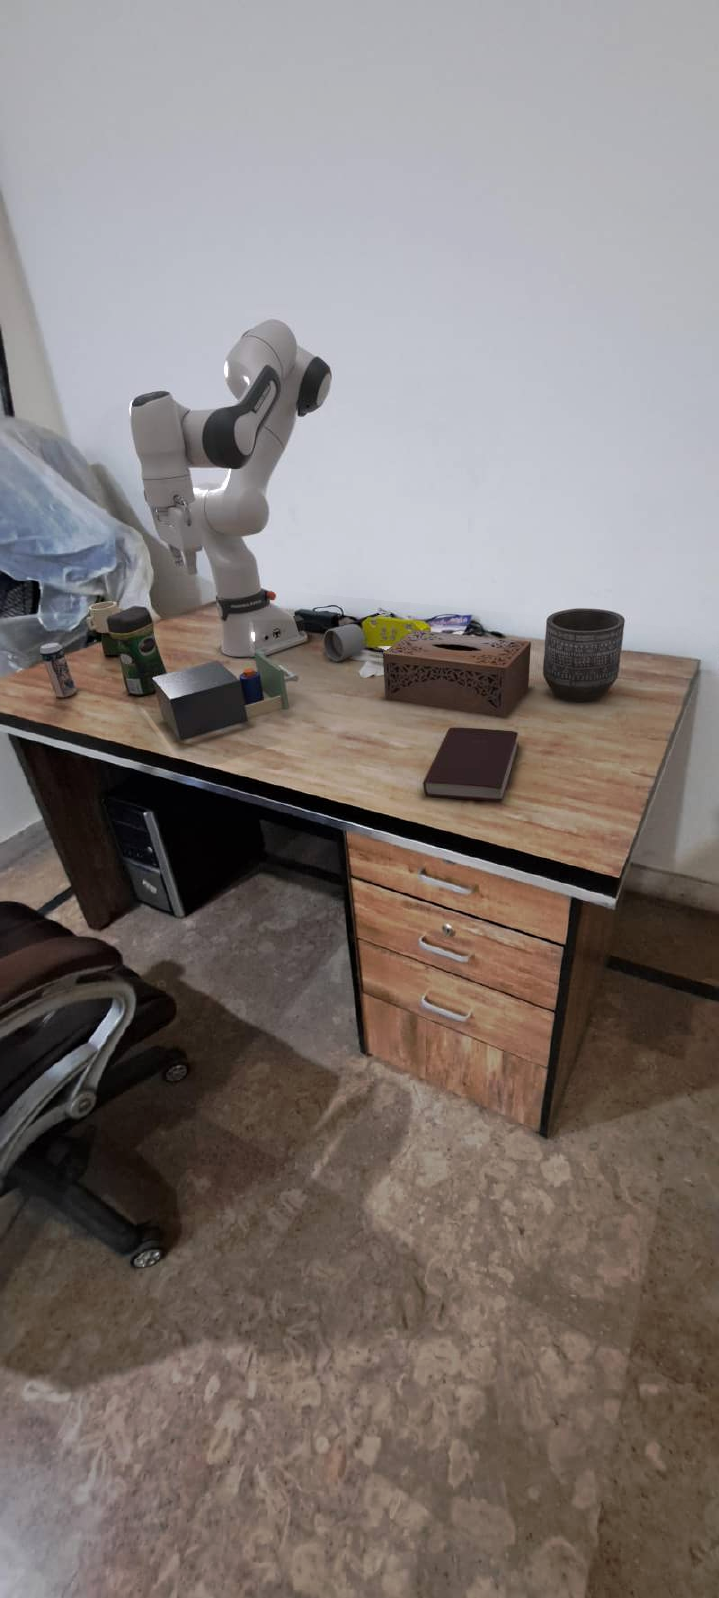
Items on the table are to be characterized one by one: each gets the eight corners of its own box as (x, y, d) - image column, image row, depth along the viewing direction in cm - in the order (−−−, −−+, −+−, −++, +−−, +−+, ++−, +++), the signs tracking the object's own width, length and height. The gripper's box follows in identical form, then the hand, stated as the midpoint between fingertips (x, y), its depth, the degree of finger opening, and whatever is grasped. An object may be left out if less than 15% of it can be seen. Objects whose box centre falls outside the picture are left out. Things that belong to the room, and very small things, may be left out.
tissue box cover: (528, 688, 139) (530, 641, 134) (504, 717, 129) (506, 668, 123) (415, 673, 151) (413, 629, 145) (385, 698, 140) (382, 653, 135)
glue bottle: (260, 697, 143) (254, 664, 139) (267, 704, 140) (261, 670, 136) (241, 703, 141) (235, 669, 137) (248, 709, 138) (242, 676, 134)
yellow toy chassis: (363, 650, 166) (360, 617, 161) (375, 642, 170) (372, 609, 165) (420, 658, 158) (419, 623, 154) (431, 650, 162) (430, 615, 158)
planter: (528, 697, 135) (531, 624, 127) (563, 673, 144) (569, 603, 136) (594, 713, 127) (603, 637, 119) (628, 687, 135) (638, 614, 127)
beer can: (69, 698, 156) (52, 648, 149) (51, 698, 157) (34, 649, 150) (81, 690, 160) (64, 641, 153) (63, 690, 161) (46, 641, 154)
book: (422, 796, 108) (422, 779, 106) (448, 740, 123) (448, 724, 121) (501, 805, 104) (502, 787, 102) (518, 745, 119) (519, 729, 117)
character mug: (126, 644, 185) (112, 597, 178) (141, 648, 181) (128, 600, 174) (91, 658, 179) (76, 609, 172) (106, 662, 175) (91, 613, 168)
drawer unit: (226, 704, 145) (217, 660, 140) (249, 727, 135) (240, 680, 129) (164, 722, 140) (151, 677, 135) (182, 747, 130) (170, 699, 124)
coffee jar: (151, 678, 162) (130, 601, 152) (175, 683, 158) (155, 604, 148) (120, 694, 155) (97, 615, 145) (145, 699, 152) (122, 618, 142)
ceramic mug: (369, 654, 163) (367, 622, 159) (344, 664, 159) (341, 632, 155) (341, 646, 170) (337, 616, 166) (316, 656, 166) (312, 625, 162)
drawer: (282, 686, 150) (275, 645, 145) (308, 707, 139) (302, 664, 134) (205, 708, 143) (195, 666, 138) (226, 731, 133) (217, 687, 128)
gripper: (202, 496, 119) (217, 576, 126) (172, 487, 134) (187, 558, 142) (167, 501, 116) (184, 582, 124) (141, 491, 132) (157, 563, 139)
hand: (185, 569), depth 133 cm, fingers open, 8 cm apart
